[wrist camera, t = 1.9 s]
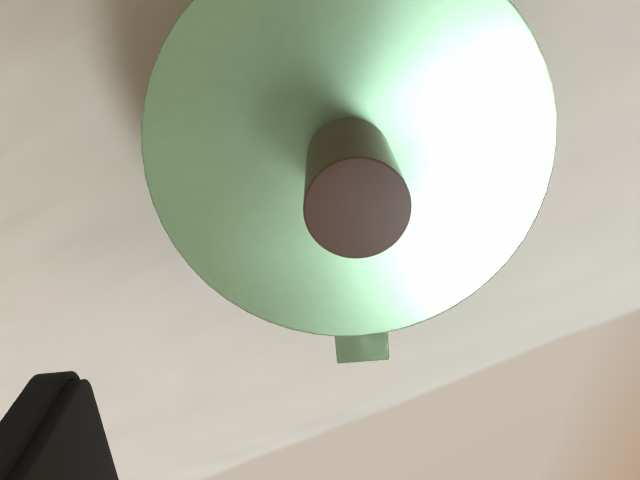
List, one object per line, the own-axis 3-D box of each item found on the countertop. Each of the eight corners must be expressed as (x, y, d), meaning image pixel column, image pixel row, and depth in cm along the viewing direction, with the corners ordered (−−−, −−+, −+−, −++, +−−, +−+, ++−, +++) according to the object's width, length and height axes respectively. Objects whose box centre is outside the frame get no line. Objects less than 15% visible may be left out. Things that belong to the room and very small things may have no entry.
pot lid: (558, -92, 21) (661, -125, 14) (536, 307, 27) (601, 404, 20) (108, -46, 21) (21, -58, 15) (187, 335, 27) (148, 439, 21)
